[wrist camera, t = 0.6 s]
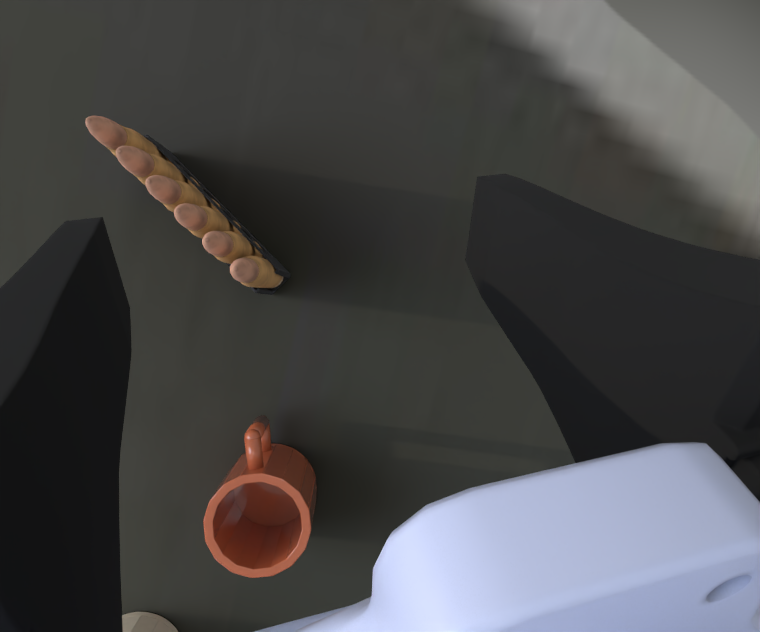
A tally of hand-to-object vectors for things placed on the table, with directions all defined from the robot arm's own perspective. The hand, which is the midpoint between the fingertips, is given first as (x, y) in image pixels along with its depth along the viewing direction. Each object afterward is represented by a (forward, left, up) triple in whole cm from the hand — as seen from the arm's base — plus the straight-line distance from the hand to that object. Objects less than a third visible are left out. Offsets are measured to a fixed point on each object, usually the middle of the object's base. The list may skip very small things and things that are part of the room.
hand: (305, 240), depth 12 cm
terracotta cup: (-12, +5, -27) cm, 30 cm away
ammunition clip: (+4, +7, -27) cm, 28 cm away
